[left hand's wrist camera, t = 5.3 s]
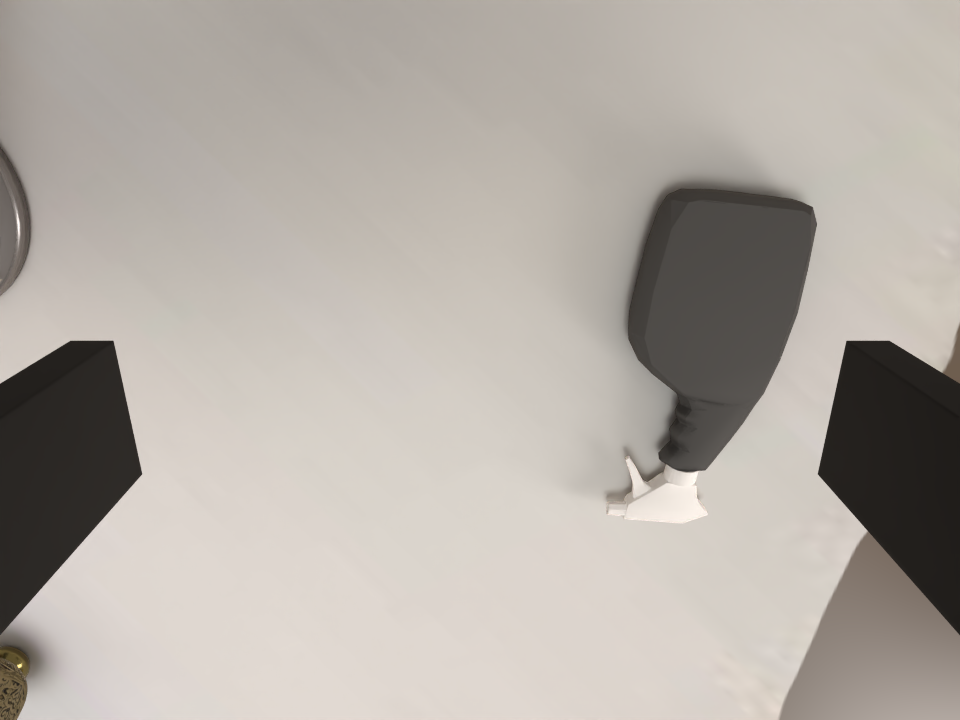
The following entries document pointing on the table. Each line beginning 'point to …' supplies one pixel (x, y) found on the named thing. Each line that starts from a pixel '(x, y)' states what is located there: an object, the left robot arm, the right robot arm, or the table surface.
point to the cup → (12, 682)
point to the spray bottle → (712, 327)
